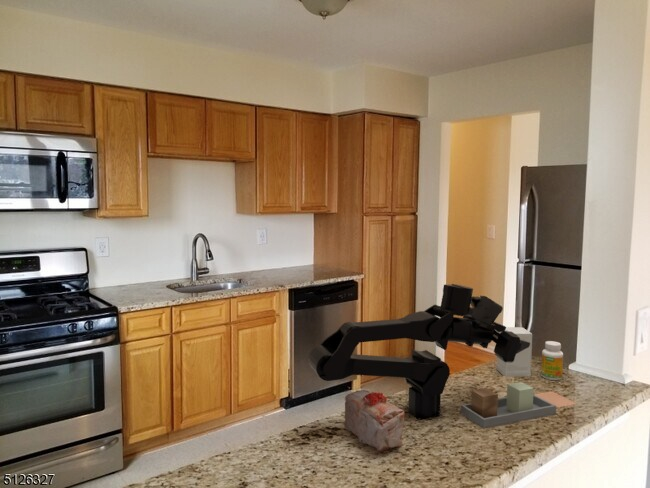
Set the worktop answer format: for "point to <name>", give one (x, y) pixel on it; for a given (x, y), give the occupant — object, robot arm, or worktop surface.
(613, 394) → the worktop surface
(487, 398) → the walnut block
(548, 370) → the supplement bottle
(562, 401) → the coaster
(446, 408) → the worktop surface
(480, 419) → the bin
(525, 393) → the sage block
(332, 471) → the worktop surface
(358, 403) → the food item
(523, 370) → the supplement box
